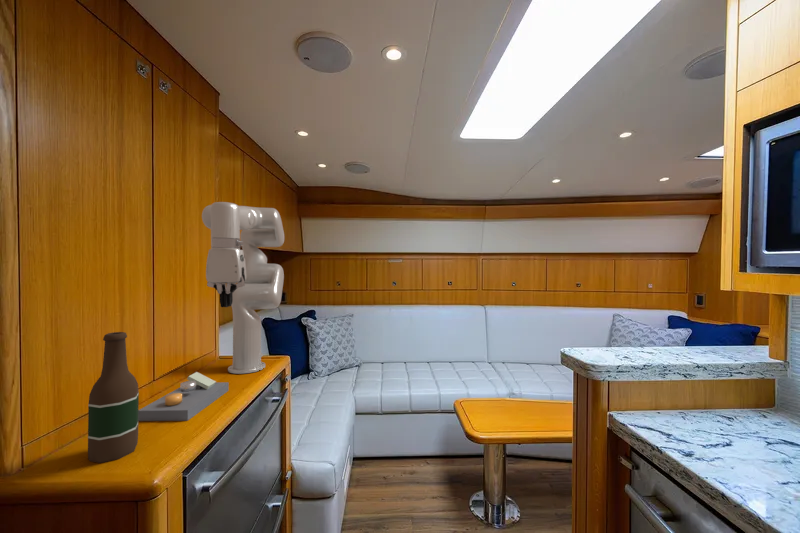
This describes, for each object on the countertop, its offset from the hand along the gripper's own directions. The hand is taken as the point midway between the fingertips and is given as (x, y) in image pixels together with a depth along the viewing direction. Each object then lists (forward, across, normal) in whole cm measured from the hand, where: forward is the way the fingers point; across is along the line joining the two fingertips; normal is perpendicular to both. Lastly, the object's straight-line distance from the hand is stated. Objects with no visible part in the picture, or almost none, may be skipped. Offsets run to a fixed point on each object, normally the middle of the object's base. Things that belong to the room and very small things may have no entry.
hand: (226, 306), depth 98 cm
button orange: (+23, +6, +15) cm, 27 cm away
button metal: (+22, +6, +9) cm, 24 cm away
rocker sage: (+22, +6, +2) cm, 23 cm away
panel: (+26, +6, +9) cm, 28 cm away
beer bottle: (+25, +5, +33) cm, 41 cm away
